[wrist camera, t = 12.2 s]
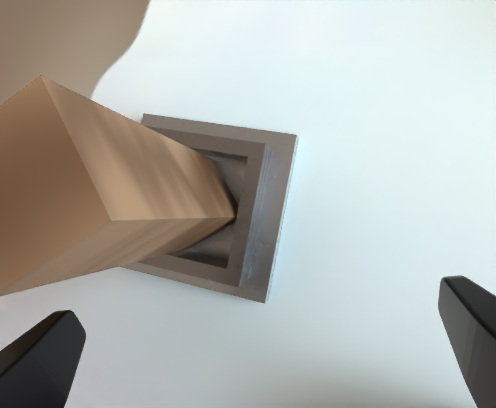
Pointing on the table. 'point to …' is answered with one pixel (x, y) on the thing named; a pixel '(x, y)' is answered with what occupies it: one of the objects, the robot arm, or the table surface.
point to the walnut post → (95, 190)
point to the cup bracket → (249, 211)
